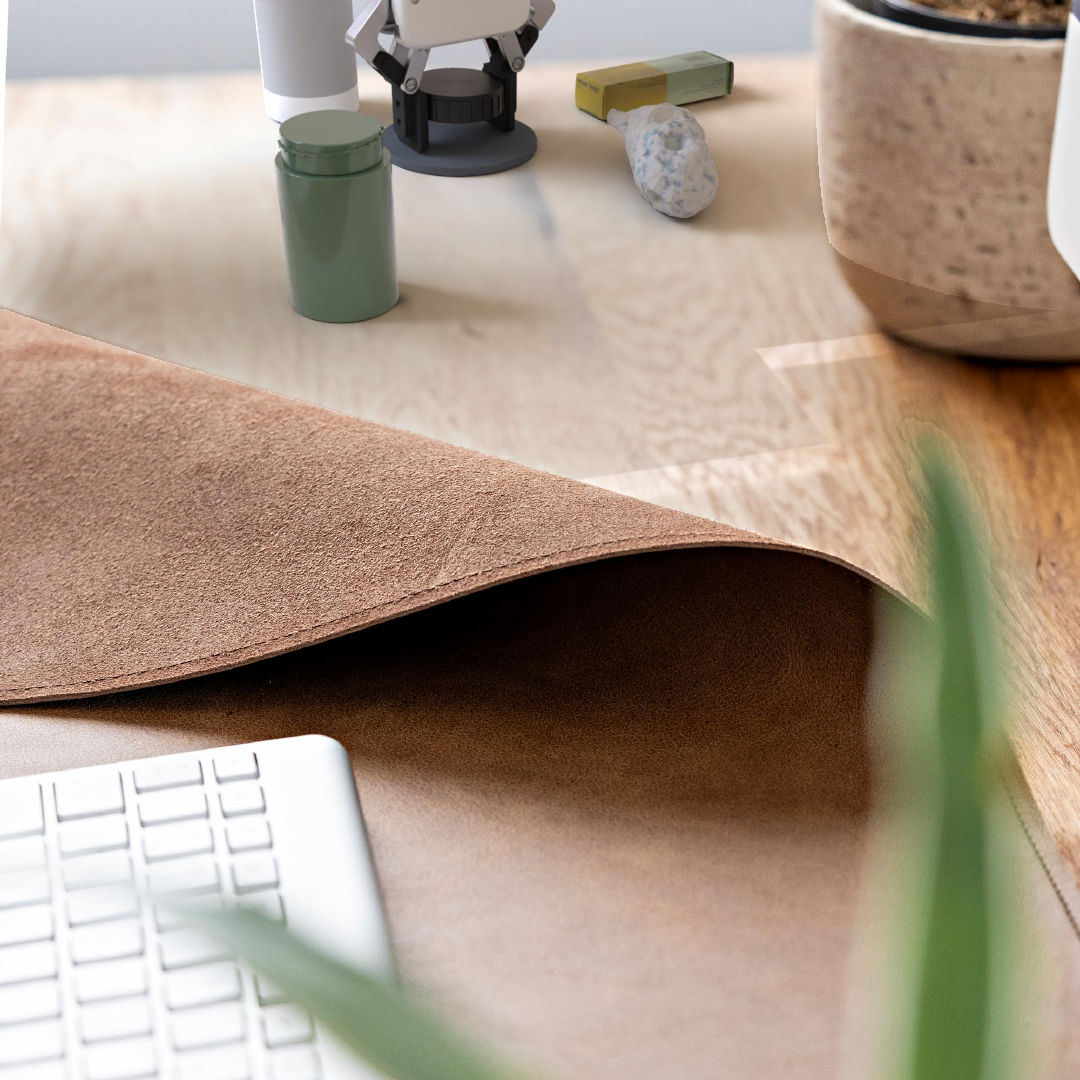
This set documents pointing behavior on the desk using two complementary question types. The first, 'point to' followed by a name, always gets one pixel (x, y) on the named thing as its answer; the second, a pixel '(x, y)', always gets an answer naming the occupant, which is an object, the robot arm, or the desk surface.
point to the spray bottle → (306, 56)
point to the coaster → (464, 149)
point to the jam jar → (337, 215)
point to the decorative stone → (668, 157)
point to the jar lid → (462, 95)
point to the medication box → (654, 83)
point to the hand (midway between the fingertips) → (456, 133)
